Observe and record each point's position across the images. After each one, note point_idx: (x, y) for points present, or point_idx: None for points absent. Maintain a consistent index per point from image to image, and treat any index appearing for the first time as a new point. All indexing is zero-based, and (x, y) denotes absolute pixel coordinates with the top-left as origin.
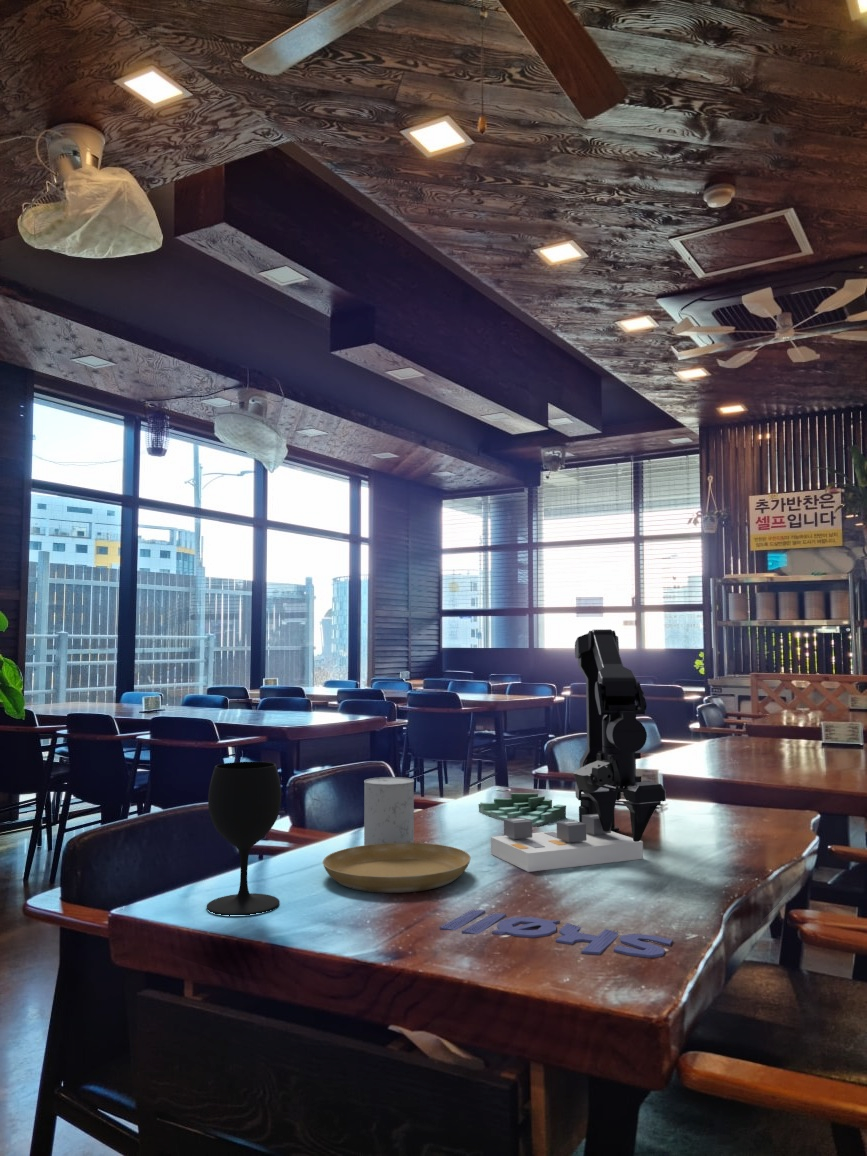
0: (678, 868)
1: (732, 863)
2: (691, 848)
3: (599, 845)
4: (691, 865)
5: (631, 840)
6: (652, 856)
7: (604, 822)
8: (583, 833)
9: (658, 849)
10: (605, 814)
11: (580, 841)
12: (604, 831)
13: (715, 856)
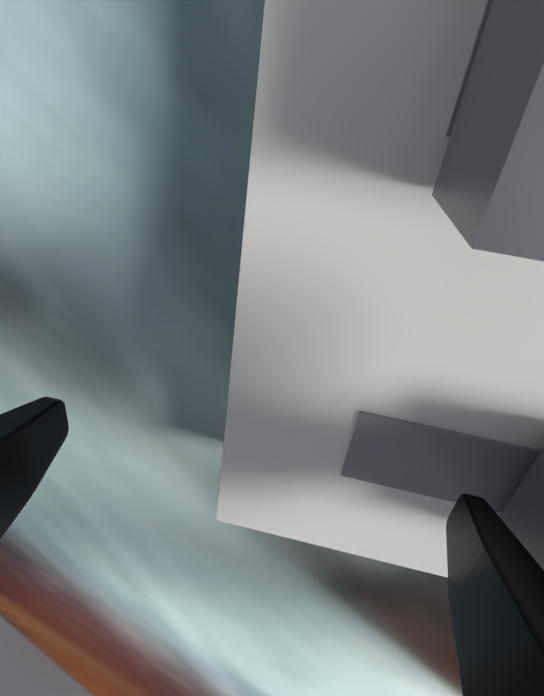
0: None
1: (58, 577)
2: (282, 649)
3: (260, 216)
4: (71, 490)
5: (268, 499)
6: None
7: (483, 565)
8: (461, 166)
9: (342, 593)
10: (507, 668)
11: None
12: (510, 520)
13: (154, 612)
